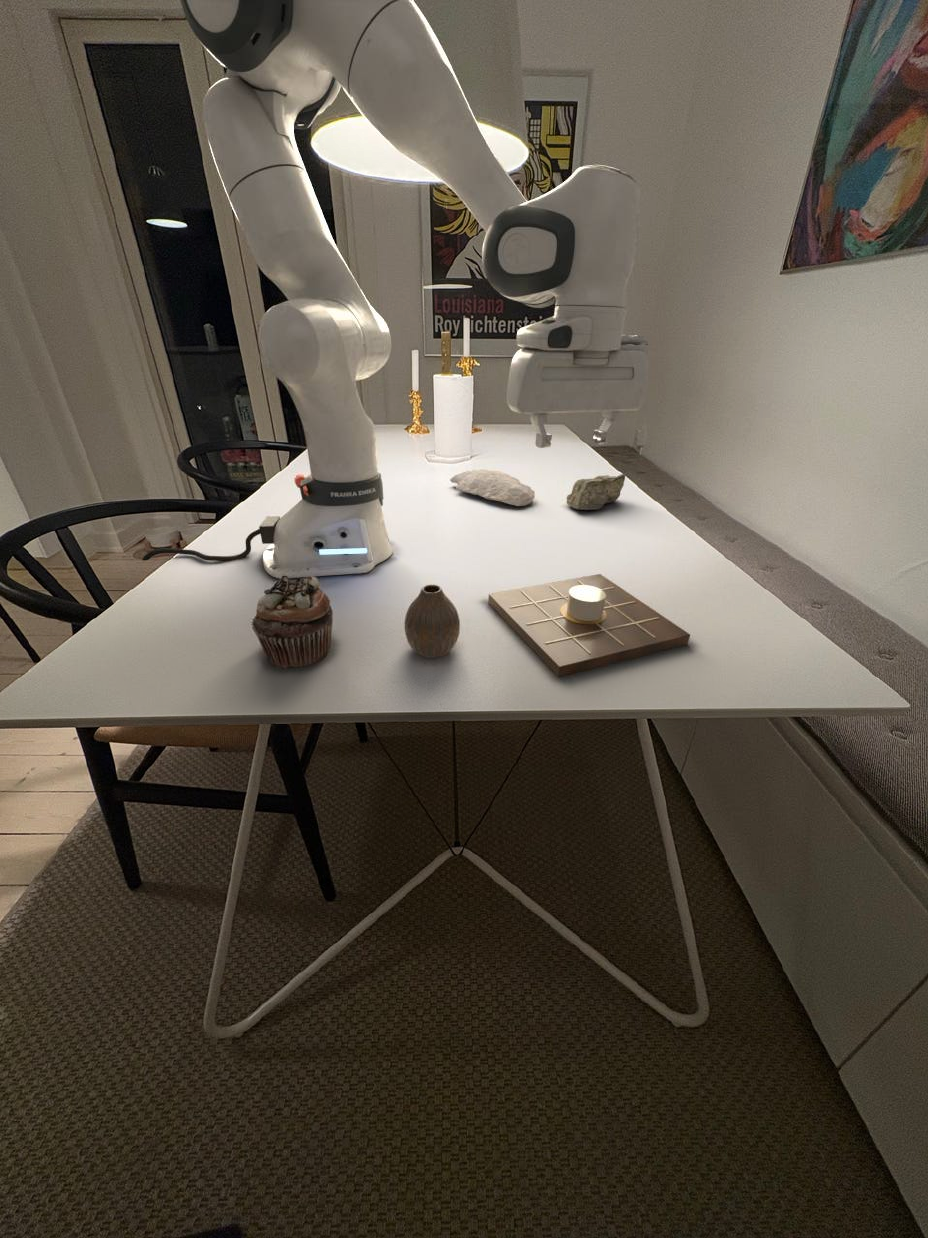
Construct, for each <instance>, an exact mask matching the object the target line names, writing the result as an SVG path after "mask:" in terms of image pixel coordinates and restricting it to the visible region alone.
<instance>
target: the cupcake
mask: <svg viewBox="0 0 928 1238" xmlns="http://www.w3.org/2000/svg"><path fill="white" fill-rule="evenodd" d="M263 593H264V595H263V596H261V597H260V598H259V599H258V601H257V606H256V614H255V615H254V616H253V618H252V619H251V624H250V625H251V629H252V631H253V632H254V634H255V636H256V638H257V639H258V641H259V643H260V646H261V649H262V651H263V652H264V655H265V657H266V659H267V661H268V662H269V663H270V664H271V665H275V666H277V667H278V668H284V669H287V668H301V667H306V666H309V665H313V664H316V663H318V662H320V661H321V660H322V659H323V658H324V657H326V656H327V655H328V653H329V650H330V648H331V645H332V631H333V621H334V617H333V614H334V612H333V609H332V606H331V600H330V598H329V596H328V595H327V594H326V593H325V592H324V591H323V590H322V589H321V588H320V582H319V579H318V578H317V576H313V577H310V576H309V577H298V578H296V580H295V581H291V580H290V578H288V577H287V576H282V577H281V579H279V580H278V581H276V582H275V583H274V584H273V585H272V586H271V588H269V589H264V592H263Z"/></svg>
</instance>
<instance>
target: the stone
mask: <svg viewBox="0 0 928 1238" xmlns="http://www.w3.org/2000/svg"><path fill="white" fill-rule="evenodd" d="M449 481H450V482H451V483H453V484H457V485H456V486H455V490H457V491H460V492H463V493H467V494H471V495H473V496H474V495H475V496H479V497H482V498H483V499H485V500H489V501H496V502H500V503H504V504H508V505H510V506H511V505H512V506H516V507H524V506H528V505H529V504H531V503H532V502H533V500H534V499H535V496H536V495H535V494H536V493H535V490H533V489H532V487H531V486H529V485H526V484H524V483H522V482H521V481H520V480H519V479H518V478H517V477H514V476H511V475H509V474H507V473H505V472H503V471H500V470H492V469H491V470H489V469H474V470H473V469H472V470H467V471H463V472H462V473H458V474H455V475H453V476H452V477H451V478H450V479H449Z"/></svg>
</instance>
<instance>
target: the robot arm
mask: <svg viewBox="0 0 928 1238" xmlns="http://www.w3.org/2000/svg"><path fill="white" fill-rule="evenodd" d="M180 4H181V7H182V10H183V13H184V16H185V18H186V21H187V24H188V25H189V27H190V29H191V31H192V32H193V34H194V36H195V37H196V39H197V40H198V41H199V42H200V44H201V45H202V46H203V48H204V49H205V50H207V52H208V53H209V54H210V55H211V56H212V57H213V58H214V59H215V60H216V61H217V62H218V63H219V64H220V65H221V66H223V67H224V68H225V69H226V71H225V74H224V76H223V78H222V79H219V80H218V81H217V82H215V83H214V84H213V85H211V86H210V88H209V89H208V90H207V92H206V94H205V96H204V98H203V102H202V110H201V111H202V121H203V125H204V129H205V133H206V137H207V141H208V144H209V147H210V151H211V154H212V157H213V161H214V164H215V166H216V169H217V172H218V175H219V178H220V180H221V183H222V186H223V187H224V191H225V193H226V196H227V198H228V200H229V203H230V206H231V207H232V210H233V212H234V214H235V217H236V219H237V222H238V223H239V226H240V228H241V231H242V233H243V235H244V238H245V240H246V242H247V245H248V247H249V249H250V251H251V254H252V256H253V258H254V261H255V263H256V265H257V267H258V268H259V269H260V271H261V272H262V273H263V274H264V275H265V276H266V278H267V279H268V280H270V281H271V282H272V283H273V284H274V285H275V286H276V287H277V288H278V289H279V291H281V292H282V293H283V295H284V296H285V297H286V299H287V300H286V301H283V302H280V303H278V304H276V305H273V306H271V307H270V308H269V309H268V310H267V311H266V312H265V313H264V314H263V316H262V318H261V319H260V321H259V324H258V325H259V326H258V330H257V343H258V348H259V353H260V355H261V358H262V360H263V362H264V364H265V365H266V367H267V369H268V370H269V371H270V372H271V373H272V374H273V375H274V376H275V378H276V379H278V380H279V381H280V382H281V383H282V384H283V386H284V387H285V388H286V390H287V391H288V393H289V395H290V398H291V399H292V401H293V403H294V406H295V408H296V410H297V413H298V415H299V418H300V421H301V425H302V428H303V432H304V438H305V443H306V450H307V457H308V463H309V469H310V474H309V475H308V476H305V475H304V474H299V473H298V474H297V475H295V477H294V485H295V486H296V487H297V488H298V489H299V492H300V496H301V499H300V500H299V501H298V502H297V503H296V504H295V505H294V506H292V508H290V509H289V510H288V511H287V512H286V513H285V514H283V515H282V516H281V517H280V515H277V516H271V515H270V516H269V515H268V516H266V517H265V518H264V519H263V521H262V522H261V523H260V525H258V526H259V527H258V529H256V530H254V531H252V532H250V533H249V534H248V535H247V537H246V538H245V550H244V551H243V552H241V553H239V554H237V555H225V556H224V555H207V554H204V553H201V552H200V551H197V550H194V549H193V550H192V549H184V548H172V547H171V548H170V547H161V548H156V549H152V550H151V551H148V552H147V553H146V554H144V556H143V557H142V559H141V561H149V560H150V559H151V558H152V557H154V556H157V555H160V554H177V555H178V554H179V555H189V556H194V557H197V558H199V559H201V560H204V561H209V562H231V561H235V560H240V559H244V558H246V557H247V556H249V554H251V552H252V544H251V542H252V540H253V539H254V538H255V537H257V536H259V535H260V539H261V544H262V545H268V544H269V546H268V547H266V548H265V550H264V551H263V554H262V562H263V563H262V564H263V567H264V568H263V569H264V570H265V572H266V573H267V574H269V576H272V577H274V578H276V579H279V580H281V577H282V576H287V577H288V578H289V579H299V578H304V577H306V578H308V577H309V576H310V577H326V576H339V575H356V574H367V573H369V572H371V571H372V570H373V569H374V568H375V567H376V566H377V565H378V564H380V563H382V562H384V561H385V560H387V559H388V558H390V557H391V556H392V554H393V551H394V548H393V546H392V543H391V541H390V538H389V533H388V531H387V527H386V522H385V517H384V512H383V505H384V486H383V480H382V474H381V473H380V472H379V463H378V449H377V448H378V447H377V435H376V427H375V424H374V422H373V420H372V419H371V417H369V416H368V414H367V412H366V411H365V409H364V406H363V403H362V401H361V397H360V394H359V391H358V388H357V381H361V380H365V379H368V378H369V377H371V376H373V375H374V374H376V373H377V372H378V371H379V370H380V369H382V368H383V367H384V366H385V365H386V363H387V362H388V361H389V358H390V355H391V351H392V337H391V336H392V335H391V332H390V329H389V327H388V324H387V322H386V321H385V320H384V318H383V317H382V316H381V315H380V314H379V313H378V312H377V311H376V310H375V308H374V307H373V306H372V305H371V304H370V302H369V301H368V299H367V298H366V296H365V294H364V292H363V290H362V289H361V287H360V285H359V284H358V282H357V280H356V278H355V277H354V275H353V274H352V271H351V270H350V268H349V267H348V265H347V263H346V261H345V259H344V258H343V256H342V255H341V253H340V250H339V249H338V246H337V244H336V243H335V240H334V239H333V236H332V234H331V231H330V229H329V226H328V224H327V222H326V219H325V217H324V214H323V211H322V209H321V206H320V204H319V201H318V198H317V196H316V194H315V191H314V188H313V186H312V182H311V180H310V178H309V175H308V172H307V170H306V167H305V165H304V162H303V160H302V157H301V154H300V152H299V148H298V146H297V142H296V139H295V133H294V129H295V130H306V129H308V128H310V127H311V125H313V123H314V121H315V119H316V118H317V116H320V115H321V114H322V113H324V112H325V111H326V110H327V109H328V108H329V107H330V106H331V105H332V104H333V103H334V102H335V100H336V98H337V96H338V95H339V93H340V90H341V88H342V89H343V91H344V93H345V94H346V95H347V97H348V98H349V99H350V101H351V102H352V103H353V105H354V106H355V108H356V109H357V110H358V112H360V114H361V116H362V117H363V118H364V119H365V120H366V122H368V124H369V125H370V126H371V127H372V128H373V130H375V131H376V132H377V133H378V134H379V135H380V136H381V137H382V138H383V140H385V142H387V143H388V144H389V145H390V146H391V147H393V149H395V150H396V151H397V152H398V153H400V154H401V155H403V156H404V157H405V158H407V159H408V160H409V161H411V162H413V163H415V164H416V165H418V166H419V167H421V168H422V169H424V170H425V171H426V172H428V173H429V174H431V175H433V176H434V177H435V178H437V179H438V180H440V181H441V182H442V183H444V185H446V186H447V187H448V188H449V189H450V190H452V192H453V193H454V194H455V195H456V196H457V197H458V198H459V199H460V201H462V203H463V204H464V205H465V207H466V208H467V209H468V211H469V212H470V213H471V215H472V216H473V217H474V219H475V220H476V222H477V223H478V224H479V225H480V227H481V228H482V229H483V231H484V232H485V236H484V240H483V244H482V249H481V258H482V259H481V260H482V261H481V262H482V268H483V272H484V274H485V277H486V279H487V281H488V282H489V284H490V286H492V288H493V289H494V290H495V291H496V292H497V293H499V294H500V295H501V296H503V297H505V298H507V299H509V300H512V301H514V302H515V301H516V302H518V303H522V304H523V305H525V306H528V307H531V308H535V309H543V308H547V307H550V306H552V305H554V313H553V316H551V317H547V318H545V319H542V320H541V321H540V320H539V321H536V322H534V323H532V324H528V325H525V326H523V327H521V328H519V329H518V330H517V333H516V345H517V346H518V347H519V348H520V349H519V350H517V351H516V352H515V354H514V355H513V357H512V360H511V363H510V368H509V371H508V372H509V373H508V380H507V389H506V404H507V406H508V407H509V409H510V410H511V411H512V412H515V413H517V414H523V415H526V414H527V415H530V417H529V420H530V423H531V425H532V427H533V429H534V432H535V434H536V435H535V446H536V447H537V448H539V449H546V448H550V447H551V445H552V442H551V441H552V440H553V439H552V438H553V434H552V433H548V432H547V430H546V427H545V425H544V423H546V422H547V420H548V415H549V414H557V413H558V414H559V413H560V414H561V413H562V414H563V413H591V412H592V413H593V412H594V413H595V412H602V417H603V421H602V423H601V425H600V427H599V428H598V429H594V430H593V438H592V443H593V444H596V445H599V446H600V445H607V444H608V443H609V440H610V439H609V438H610V433H611V432H612V431H613V429H614V427H615V426H616V425H617V423H618V421H619V420H620V415H621V412H625V411H639V410H640V409H641V408H642V407H643V405H644V404H645V402H646V397H647V391H648V381H649V361H650V356H651V346H650V343H649V342H648V340H646V339H645V337H644V336H643V335H639V334H637V335H636V334H635V335H628V334H623V333H624V327H625V322H626V315H627V310H628V309H627V308H628V292H627V291H628V283H629V280H630V277H631V274H632V271H633V269H634V266H635V261H636V255H637V251H638V250H637V249H638V244H639V243H638V241H639V235H640V225H641V216H642V215H641V214H642V196H641V190H640V188H639V186H638V184H637V182H636V180H635V179H634V178H633V177H632V176H631V175H630V174H629V173H628V172H625V171H622V170H621V169H619V168H616V167H612V166H608V165H603V164H591V165H590V164H586V165H583V166H580V167H578V168H576V170H575V171H574V172H573V173H572V174H571V175H570V176H569V177H568V178H567V179H566V180H565V181H564V182H562V183H561V184H559V185H558V186H556V187H555V188H553V189H552V190H550V191H548V192H546V193H544V194H542V195H540V196H539V197H536V198H534V199H530V200H529V201H528V200H527V199H526V197H525V196H524V194H523V193H522V191H521V190H520V188H519V187H518V185H517V184H516V182H514V180H513V178H512V177H511V176H510V175H509V173H508V171H506V170H507V169H506V168H504V165H502V163H501V162H500V160H499V159H498V157H497V156H496V154H495V153H494V151H493V150H492V149H491V147H490V146H489V145H490V144H489V143H488V142H487V139H486V138H485V136H484V134H483V133H482V130H481V128H480V126H479V124H478V121H477V119H476V117H475V116H474V113H473V111H472V109H471V107H470V104H469V103H468V100H467V98H466V96H465V93H464V91H463V89H462V87H461V85H460V83H459V80H458V78H457V76H456V74H455V72H454V70H453V67H452V65H451V63H450V61H449V59H448V57H447V55H446V53H445V51H444V49H443V46H442V45H441V44H440V41H439V39H438V37H437V36H436V34H435V33H434V31H433V29H432V27H431V25H430V24H429V22H428V20H427V19H426V17H425V16H424V14H423V13H422V11H421V10H420V7H418V6H417V4H416V2H415V1H414V0H180ZM299 123H303V124H299Z"/></svg>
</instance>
